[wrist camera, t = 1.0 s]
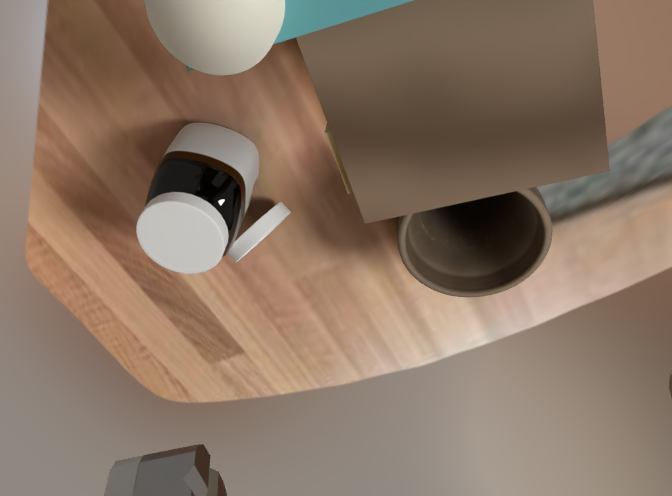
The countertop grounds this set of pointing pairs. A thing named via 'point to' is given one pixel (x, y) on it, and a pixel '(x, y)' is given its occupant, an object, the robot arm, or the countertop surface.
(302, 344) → the countertop surface
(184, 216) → the spread jar
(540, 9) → the walnut shelf
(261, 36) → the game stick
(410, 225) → the flower pot
